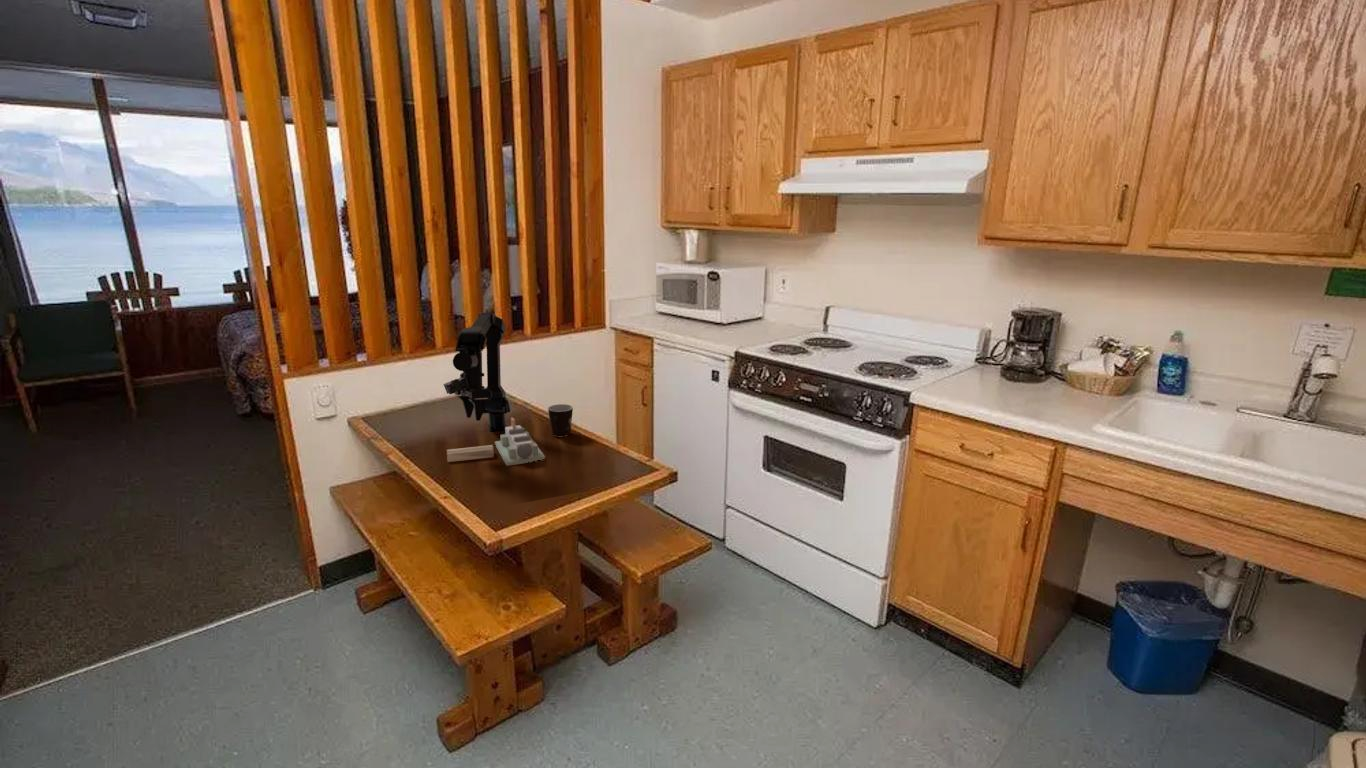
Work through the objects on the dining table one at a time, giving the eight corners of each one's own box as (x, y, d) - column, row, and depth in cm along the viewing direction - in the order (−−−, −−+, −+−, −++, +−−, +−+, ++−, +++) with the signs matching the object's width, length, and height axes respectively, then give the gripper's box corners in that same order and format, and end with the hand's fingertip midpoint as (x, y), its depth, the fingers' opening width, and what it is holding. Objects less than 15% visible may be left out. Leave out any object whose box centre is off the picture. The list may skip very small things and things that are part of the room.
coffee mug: (560, 428, 223) (559, 402, 220) (578, 433, 219) (577, 406, 216) (537, 438, 213) (536, 411, 211) (556, 443, 209) (555, 415, 206)
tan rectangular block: (447, 458, 195) (446, 449, 194) (493, 453, 200) (492, 444, 199) (447, 463, 191) (446, 454, 191) (494, 457, 196) (493, 449, 195)
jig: (495, 444, 206) (493, 419, 204) (530, 439, 212) (529, 414, 209) (507, 467, 188) (505, 439, 186) (545, 460, 194) (544, 433, 191)
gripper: (437, 369, 194) (438, 417, 195) (455, 371, 179) (455, 424, 180) (473, 368, 201) (473, 415, 202) (492, 370, 186) (493, 421, 187)
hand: (473, 419), depth 192 cm, fingers open, 9 cm apart
